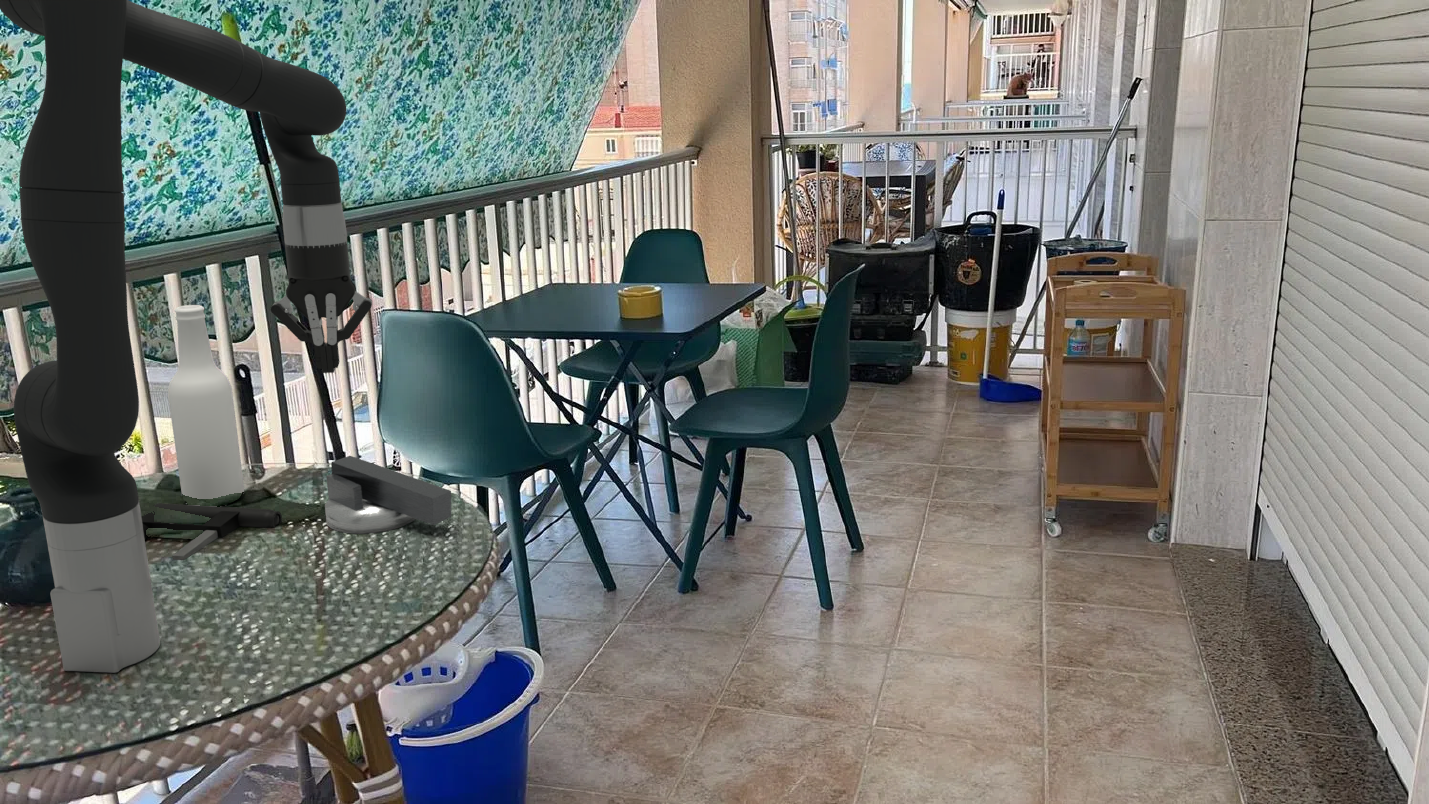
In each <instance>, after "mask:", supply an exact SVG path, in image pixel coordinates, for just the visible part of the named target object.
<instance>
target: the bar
mask: <svg viewBox="0 0 1429 804" xmlns="http://www.w3.org/2000/svg"><path fill="white" fill-rule="evenodd" d="M330 464H331V474H336V475H338V476H340V477H343V478H345V479H347V480H350V481H352V482H354V483H357V484H359V485H361V491H362V499H365V500H367V501H370V502H373V503H375V504H378V505H381V506H383V507H386V508H389V509H391V510H394V511H397V512H399V513H402V514H405V515H408V516H410V517H413V518H416V519H415V520H419V521H421V522H423V523H427V524H429V525H432V526H435V525H437V524H439V523H441V522H443V521H445V520H447V519H450V518H451V517H452V491H451V490H450V489H447V488H443V487H441V486H438V485H436V484H432V483H429V482H427V481H424V480H421V479H418V478H415V477H413V476H410V475H407V474H404V473H402V472H401V473H400V472H398V471H396V470H392V469H389V468H387V467H384V466H380V465H379V464H376V463H374V464H373V462H369V461H366V460H364V459H362V458H358V457H355V456H353V455H347V456H345V457H342V458H340V459H336V460H333V461H332V462H331V463H330Z"/></svg>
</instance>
